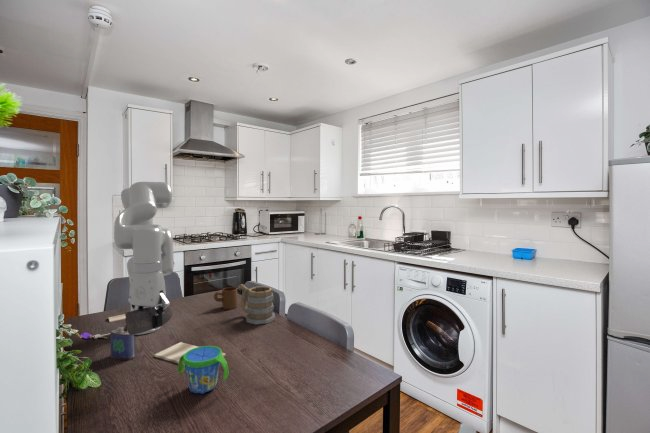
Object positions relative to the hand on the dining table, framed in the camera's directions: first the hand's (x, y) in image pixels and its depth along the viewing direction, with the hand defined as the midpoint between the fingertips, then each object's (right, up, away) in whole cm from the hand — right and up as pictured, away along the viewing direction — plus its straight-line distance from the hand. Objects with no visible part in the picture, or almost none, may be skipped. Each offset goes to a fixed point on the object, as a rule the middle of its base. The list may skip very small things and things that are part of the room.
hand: (149, 325), depth 100 cm
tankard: (+21, -14, +52) cm, 58 cm away
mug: (+3, -13, +66) cm, 67 cm away
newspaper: (-36, -15, +57) cm, 69 cm away
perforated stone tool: (0, -1, 0) cm, 1 cm away
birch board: (+7, -16, +14) cm, 22 cm away
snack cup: (+19, -17, -5) cm, 25 cm away
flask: (-17, -16, +14) cm, 27 cm away
